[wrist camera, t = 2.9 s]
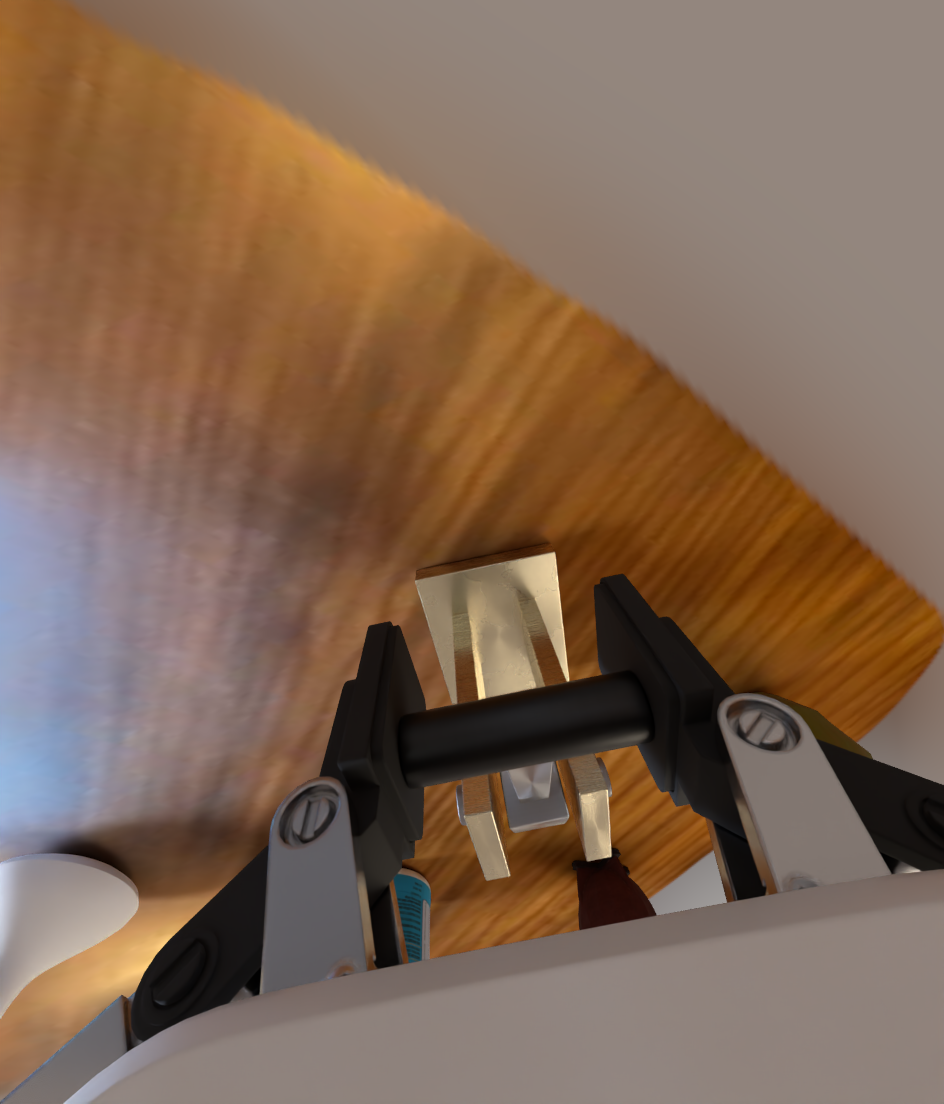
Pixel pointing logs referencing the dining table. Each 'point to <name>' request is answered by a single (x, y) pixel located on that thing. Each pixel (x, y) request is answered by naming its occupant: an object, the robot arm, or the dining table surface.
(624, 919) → the mate gourd
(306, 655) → the dining table surface
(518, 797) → the lever
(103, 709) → the dining table surface
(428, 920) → the beverage bottle
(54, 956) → the flower in vase
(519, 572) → the bracket
